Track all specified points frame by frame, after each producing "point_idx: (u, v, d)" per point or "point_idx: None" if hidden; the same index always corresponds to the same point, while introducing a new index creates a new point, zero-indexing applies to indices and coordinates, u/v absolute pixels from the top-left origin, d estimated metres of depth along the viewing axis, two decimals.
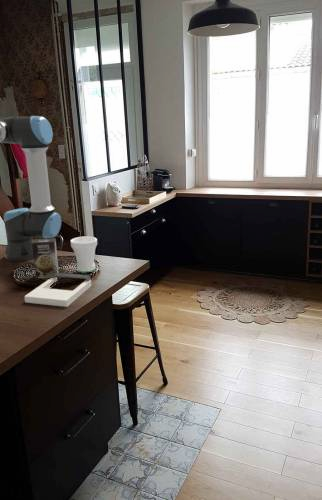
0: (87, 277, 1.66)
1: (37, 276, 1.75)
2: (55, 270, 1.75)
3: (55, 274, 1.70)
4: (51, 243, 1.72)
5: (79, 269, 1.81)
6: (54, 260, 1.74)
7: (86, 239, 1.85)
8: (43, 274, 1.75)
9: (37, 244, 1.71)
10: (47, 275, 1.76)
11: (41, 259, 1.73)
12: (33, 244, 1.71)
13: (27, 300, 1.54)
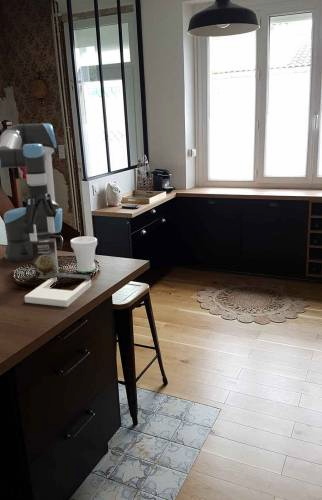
0: (87, 277, 1.66)
1: (37, 276, 1.75)
2: (55, 270, 1.75)
3: (55, 274, 1.70)
4: (51, 243, 1.72)
5: (79, 269, 1.81)
6: (54, 260, 1.74)
7: (86, 239, 1.85)
8: (43, 274, 1.75)
9: (37, 244, 1.71)
10: (47, 275, 1.76)
11: (41, 259, 1.73)
12: (33, 244, 1.71)
13: (27, 300, 1.54)
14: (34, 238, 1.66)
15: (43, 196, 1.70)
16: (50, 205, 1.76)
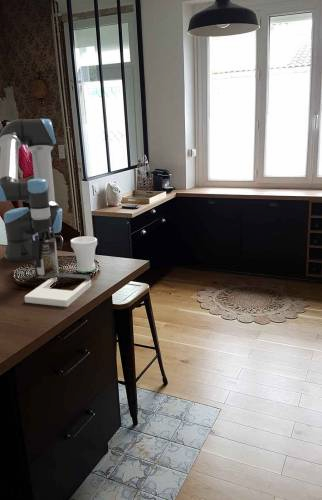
0: (87, 277, 1.66)
1: (37, 276, 1.75)
2: (55, 270, 1.75)
3: (55, 274, 1.70)
4: (51, 243, 1.72)
5: (79, 269, 1.81)
6: (54, 260, 1.74)
7: (86, 239, 1.85)
8: None
9: None
10: (47, 275, 1.75)
11: None
12: None
13: (27, 300, 1.54)
14: (41, 272, 1.73)
15: (47, 228, 1.74)
16: None
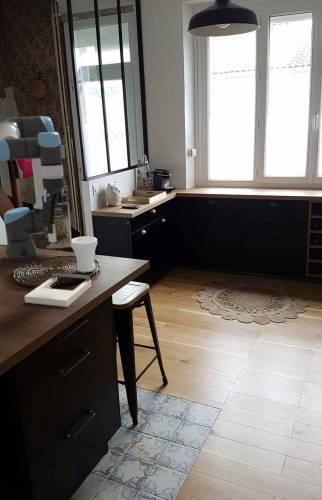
0: (87, 277, 1.66)
1: (48, 244, 1.55)
2: (68, 237, 1.56)
3: (55, 274, 1.70)
4: (64, 206, 1.52)
5: (79, 269, 1.81)
6: (67, 226, 1.54)
7: (86, 239, 1.85)
8: (54, 242, 1.55)
9: None
10: (59, 243, 1.56)
11: None
12: None
13: (27, 300, 1.54)
14: (53, 239, 1.53)
15: (59, 189, 1.54)
16: None
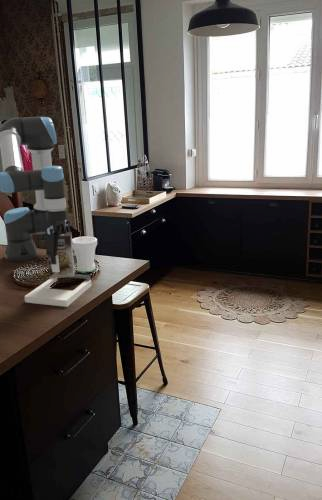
0: (87, 277, 1.66)
1: (51, 274, 1.59)
2: (71, 267, 1.59)
3: None
4: (67, 237, 1.56)
5: (79, 269, 1.81)
6: (70, 256, 1.58)
7: (86, 239, 1.85)
8: (57, 272, 1.59)
9: None
10: (62, 273, 1.59)
11: None
12: None
13: (27, 300, 1.54)
14: (56, 269, 1.57)
15: (62, 221, 1.58)
16: None
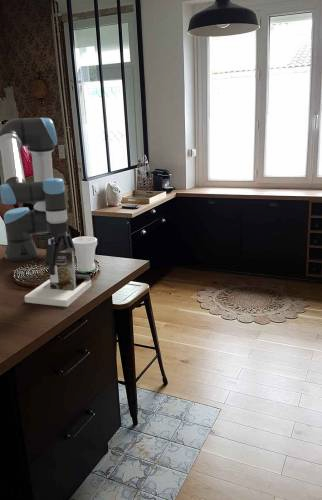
0: (87, 277, 1.66)
1: None
2: (72, 283, 1.61)
3: None
4: (68, 254, 1.57)
5: (79, 269, 1.81)
6: (71, 272, 1.60)
7: (86, 239, 1.85)
8: (59, 287, 1.61)
9: None
10: (63, 288, 1.61)
11: None
12: None
13: (27, 300, 1.54)
14: (55, 279, 1.56)
15: (63, 233, 1.59)
16: (69, 242, 1.65)
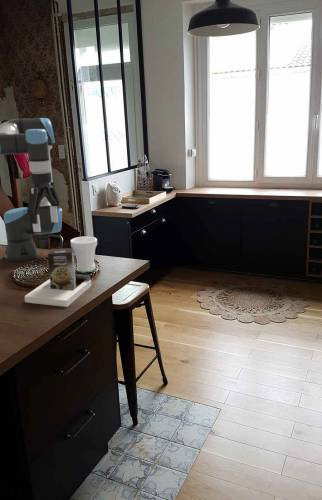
0: (87, 277, 1.66)
1: None
2: (72, 283, 1.61)
3: None
4: (68, 254, 1.57)
5: (79, 269, 1.81)
6: (71, 272, 1.60)
7: (86, 239, 1.85)
8: (59, 287, 1.61)
9: (53, 255, 1.57)
10: (63, 288, 1.61)
11: (57, 272, 1.59)
12: (49, 255, 1.57)
13: (27, 300, 1.54)
14: (38, 229, 1.59)
15: (46, 184, 1.62)
16: (53, 194, 1.68)
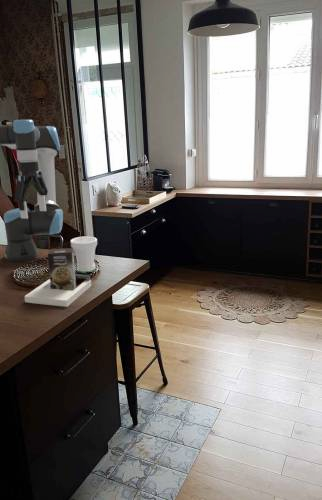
0: (87, 277, 1.66)
1: None
2: (72, 283, 1.61)
3: None
4: (68, 254, 1.57)
5: (79, 269, 1.81)
6: (71, 272, 1.60)
7: (86, 239, 1.85)
8: (59, 287, 1.61)
9: (53, 255, 1.57)
10: (63, 288, 1.61)
11: (57, 272, 1.59)
12: (49, 255, 1.57)
13: (27, 300, 1.54)
14: (25, 215, 1.65)
15: (34, 173, 1.68)
16: (41, 183, 1.75)
